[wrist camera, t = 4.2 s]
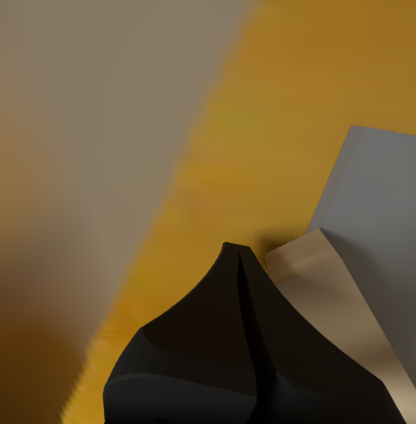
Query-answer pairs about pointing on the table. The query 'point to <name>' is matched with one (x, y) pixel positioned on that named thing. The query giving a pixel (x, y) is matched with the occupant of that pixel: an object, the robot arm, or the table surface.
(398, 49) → the table surface
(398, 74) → the table surface
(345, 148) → the stool seat
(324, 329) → the stool leg
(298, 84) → the table surface
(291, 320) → the robot arm
